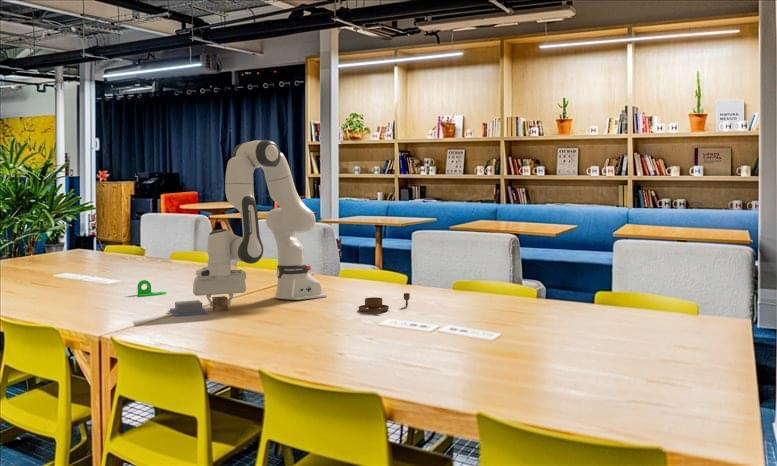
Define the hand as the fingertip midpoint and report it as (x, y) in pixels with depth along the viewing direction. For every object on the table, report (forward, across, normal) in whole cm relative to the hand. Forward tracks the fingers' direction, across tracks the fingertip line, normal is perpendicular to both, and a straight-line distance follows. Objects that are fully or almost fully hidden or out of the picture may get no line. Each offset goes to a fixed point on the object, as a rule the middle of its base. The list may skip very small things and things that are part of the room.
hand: (220, 305), depth 262 cm
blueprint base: (+2, +12, 0) cm, 12 cm away
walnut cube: (+2, 0, 0) cm, 2 cm away
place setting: (+2, -58, +28) cm, 65 cm away
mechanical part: (+2, +21, -51) cm, 55 cm away
